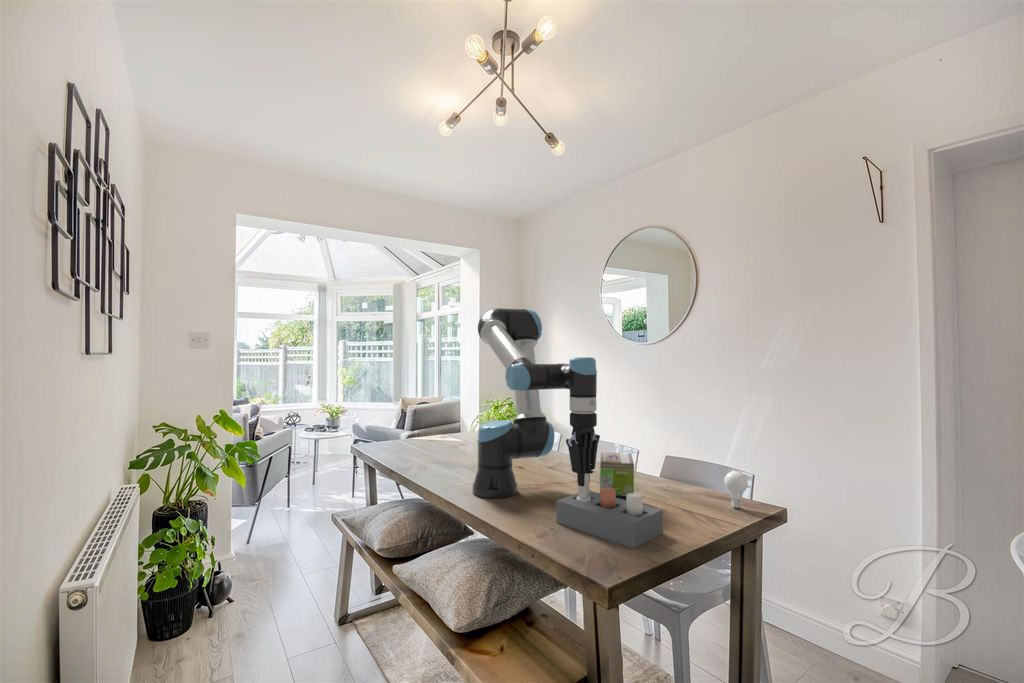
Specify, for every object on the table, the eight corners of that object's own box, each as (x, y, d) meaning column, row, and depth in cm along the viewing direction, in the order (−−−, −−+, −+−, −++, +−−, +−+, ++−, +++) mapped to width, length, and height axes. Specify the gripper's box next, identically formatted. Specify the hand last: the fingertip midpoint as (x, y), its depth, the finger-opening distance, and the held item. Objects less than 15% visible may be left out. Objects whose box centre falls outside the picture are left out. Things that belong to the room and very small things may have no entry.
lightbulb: (720, 506, 138) (719, 470, 138) (733, 503, 140) (733, 467, 141) (739, 513, 132) (738, 475, 132) (753, 509, 135) (752, 472, 135)
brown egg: (597, 509, 121) (597, 489, 121) (605, 506, 124) (605, 486, 124) (610, 513, 118) (609, 492, 118) (618, 509, 121) (618, 489, 121)
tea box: (635, 514, 131) (634, 462, 132) (599, 511, 133) (599, 461, 134) (631, 498, 146) (631, 452, 146) (600, 496, 148) (599, 450, 148)
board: (556, 522, 124) (556, 500, 124) (587, 510, 134) (587, 490, 134) (634, 549, 107) (634, 523, 107) (662, 533, 117) (662, 509, 117)
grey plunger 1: (573, 517, 126) (573, 497, 127) (582, 514, 129) (582, 494, 129) (585, 521, 123) (585, 500, 124) (593, 517, 126) (593, 497, 126)
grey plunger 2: (623, 517, 115) (623, 495, 115) (631, 513, 118) (631, 492, 118) (637, 521, 112) (637, 499, 112) (645, 517, 115) (645, 495, 115)
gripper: (579, 415, 120) (580, 505, 119) (607, 411, 129) (608, 494, 128) (557, 412, 125) (558, 498, 125) (586, 409, 135) (586, 489, 134)
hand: (583, 496), depth 126 cm, fingers closed
